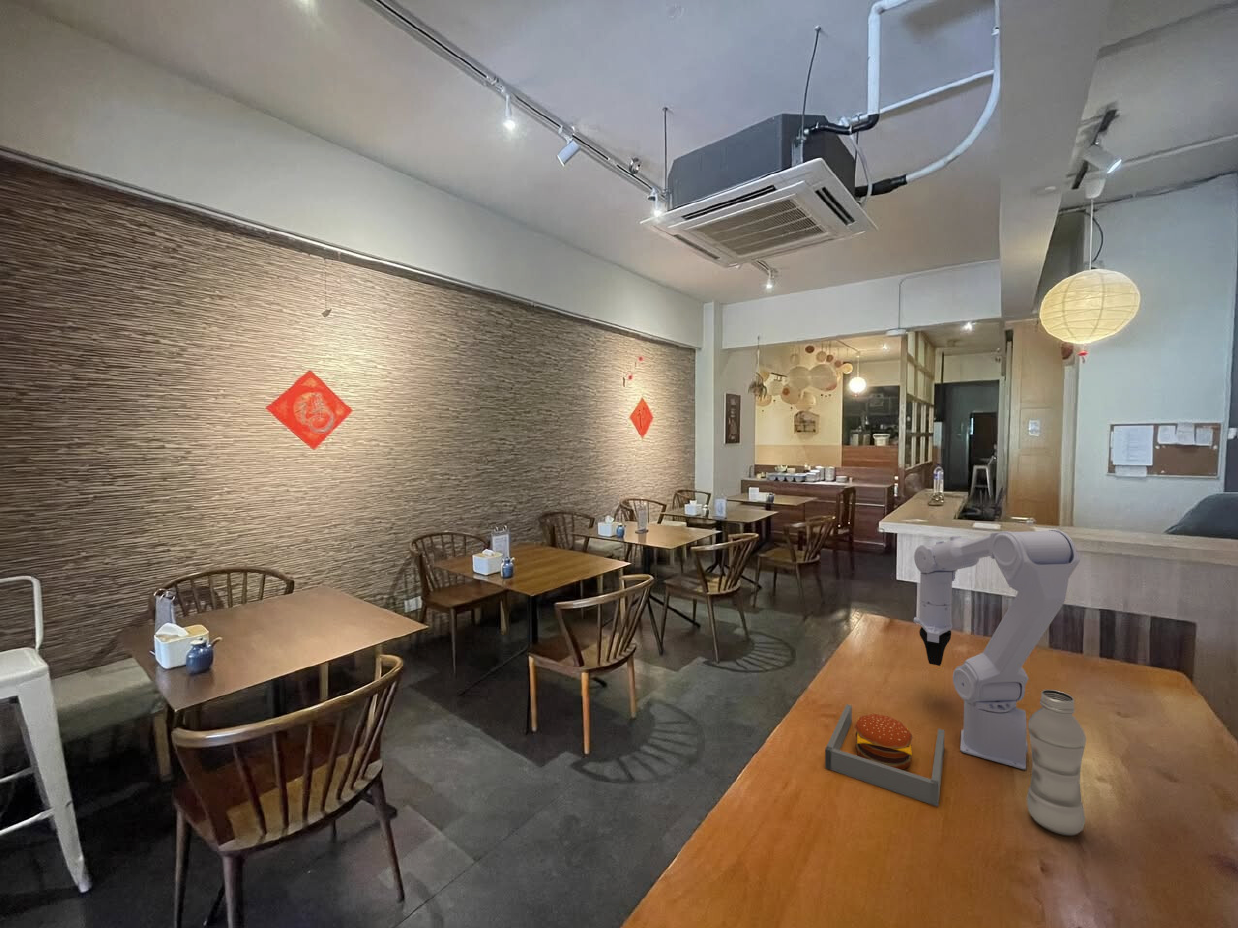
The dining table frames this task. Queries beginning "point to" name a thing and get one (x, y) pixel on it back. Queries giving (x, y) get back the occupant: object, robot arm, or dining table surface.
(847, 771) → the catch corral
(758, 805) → the dining table surface
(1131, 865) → the dining table surface
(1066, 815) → the plastic bottle
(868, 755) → the hamburger
